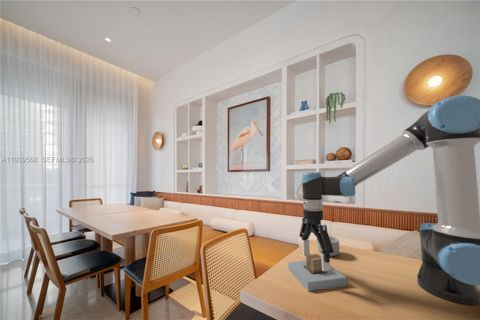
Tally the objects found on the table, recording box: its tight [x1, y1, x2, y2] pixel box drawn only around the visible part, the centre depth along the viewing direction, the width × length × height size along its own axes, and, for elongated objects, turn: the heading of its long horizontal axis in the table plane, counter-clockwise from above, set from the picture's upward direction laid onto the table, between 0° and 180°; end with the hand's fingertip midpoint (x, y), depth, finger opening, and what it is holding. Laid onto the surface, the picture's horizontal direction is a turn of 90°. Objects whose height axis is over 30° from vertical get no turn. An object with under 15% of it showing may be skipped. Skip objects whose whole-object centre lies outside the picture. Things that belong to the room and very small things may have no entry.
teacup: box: [316, 235, 341, 257], centre depth 101 cm, size 14×11×8 cm
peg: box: [305, 253, 325, 275], centre depth 78 cm, size 5×5×8 cm
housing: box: [287, 260, 348, 292], centre depth 78 cm, size 16×16×3 cm
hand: (315, 262), depth 78 cm, fingers open, 13 cm apart
